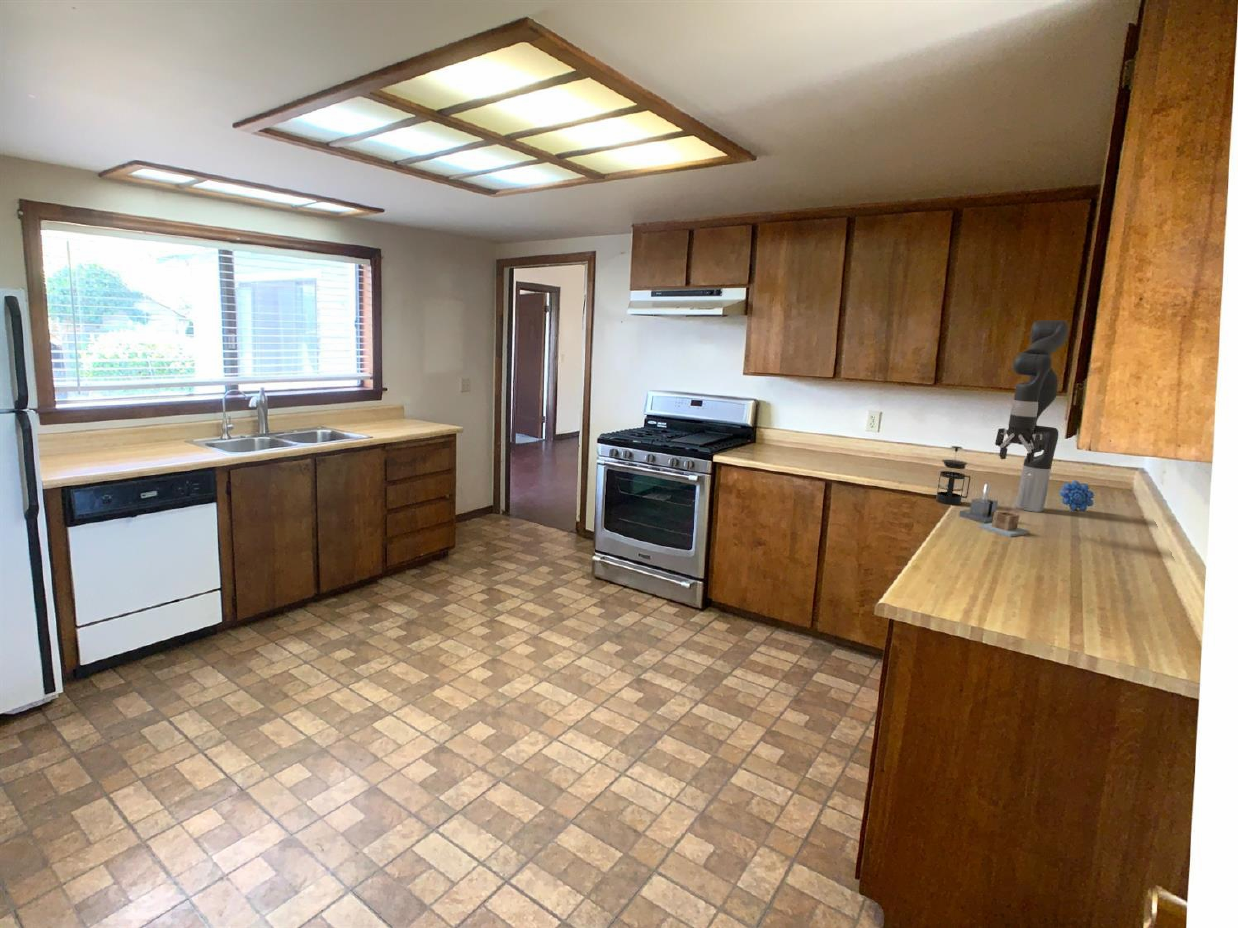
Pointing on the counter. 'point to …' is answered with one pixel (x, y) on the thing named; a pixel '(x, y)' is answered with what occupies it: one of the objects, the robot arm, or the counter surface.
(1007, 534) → the mat
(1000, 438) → the robot arm
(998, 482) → the counter surface
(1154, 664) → the counter surface
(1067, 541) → the counter surface
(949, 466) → the french press
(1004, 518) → the collar
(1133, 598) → the counter surface
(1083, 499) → the grapes
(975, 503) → the grey block-shaped fixture
